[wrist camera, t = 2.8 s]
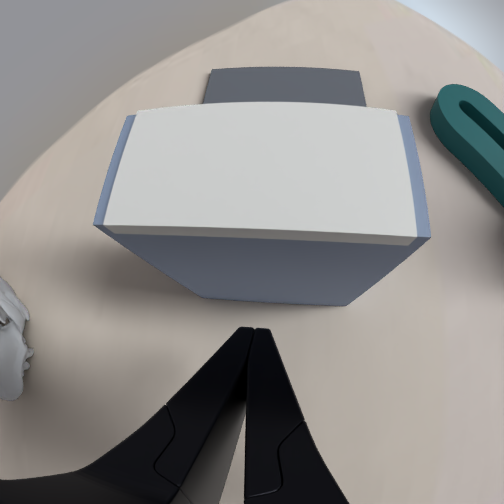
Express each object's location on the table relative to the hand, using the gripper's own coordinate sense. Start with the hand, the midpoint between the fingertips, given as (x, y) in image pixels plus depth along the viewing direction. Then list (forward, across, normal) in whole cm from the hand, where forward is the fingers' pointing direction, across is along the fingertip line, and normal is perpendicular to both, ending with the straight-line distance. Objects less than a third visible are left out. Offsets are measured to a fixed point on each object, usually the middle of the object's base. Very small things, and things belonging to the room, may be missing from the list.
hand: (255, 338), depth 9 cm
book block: (+9, 0, +3) cm, 9 cm away
